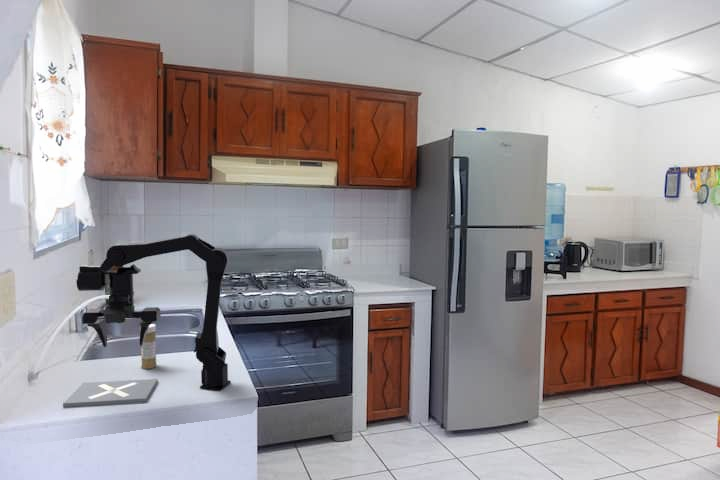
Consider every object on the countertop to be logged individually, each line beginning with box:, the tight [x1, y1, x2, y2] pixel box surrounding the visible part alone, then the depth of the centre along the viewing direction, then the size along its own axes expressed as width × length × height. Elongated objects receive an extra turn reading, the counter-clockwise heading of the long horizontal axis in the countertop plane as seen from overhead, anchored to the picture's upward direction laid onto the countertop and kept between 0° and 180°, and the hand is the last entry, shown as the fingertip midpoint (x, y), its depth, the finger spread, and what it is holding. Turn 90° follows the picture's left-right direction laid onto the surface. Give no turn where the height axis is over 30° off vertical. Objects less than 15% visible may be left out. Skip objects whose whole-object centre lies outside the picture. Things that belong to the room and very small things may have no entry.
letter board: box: [62, 378, 159, 408], centre depth 134 cm, size 20×14×1 cm
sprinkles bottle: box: [139, 323, 157, 370], centre depth 155 cm, size 5×5×13 cm
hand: (123, 345), depth 135 cm, fingers open, 9 cm apart
